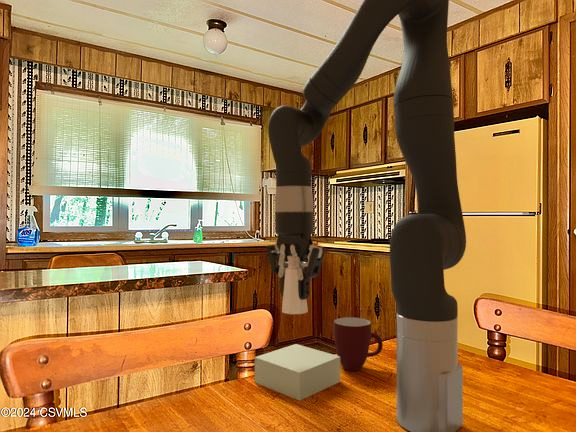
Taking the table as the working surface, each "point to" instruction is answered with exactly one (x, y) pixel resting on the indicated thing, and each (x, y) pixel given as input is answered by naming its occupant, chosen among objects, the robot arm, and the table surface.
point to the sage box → (297, 371)
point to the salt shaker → (292, 291)
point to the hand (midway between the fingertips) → (294, 297)
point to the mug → (354, 342)
